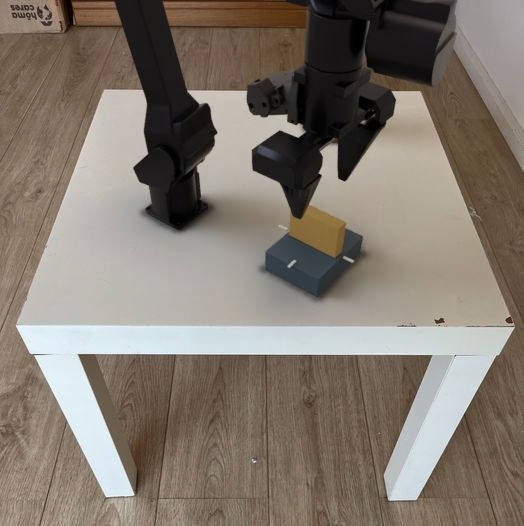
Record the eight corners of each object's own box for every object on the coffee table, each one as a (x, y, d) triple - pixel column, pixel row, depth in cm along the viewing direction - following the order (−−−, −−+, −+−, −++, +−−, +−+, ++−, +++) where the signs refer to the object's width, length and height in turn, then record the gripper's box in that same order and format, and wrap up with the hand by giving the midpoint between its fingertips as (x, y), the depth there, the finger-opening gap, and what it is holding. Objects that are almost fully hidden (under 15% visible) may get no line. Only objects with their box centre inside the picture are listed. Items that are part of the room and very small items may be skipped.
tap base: (325, 305, 70) (327, 286, 67) (252, 266, 74) (251, 247, 72) (373, 256, 76) (377, 237, 73) (302, 223, 80) (304, 204, 77)
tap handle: (342, 251, 72) (346, 220, 68) (334, 258, 71) (339, 227, 67) (296, 228, 74) (298, 197, 71) (288, 235, 73) (290, 203, 70)
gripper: (319, 8, 63) (309, 140, 75) (204, 70, 54) (214, 210, 66) (410, 35, 59) (384, 171, 71) (303, 108, 49) (294, 250, 61)
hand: (320, 197), depth 67 cm, fingers open, 9 cm apart
